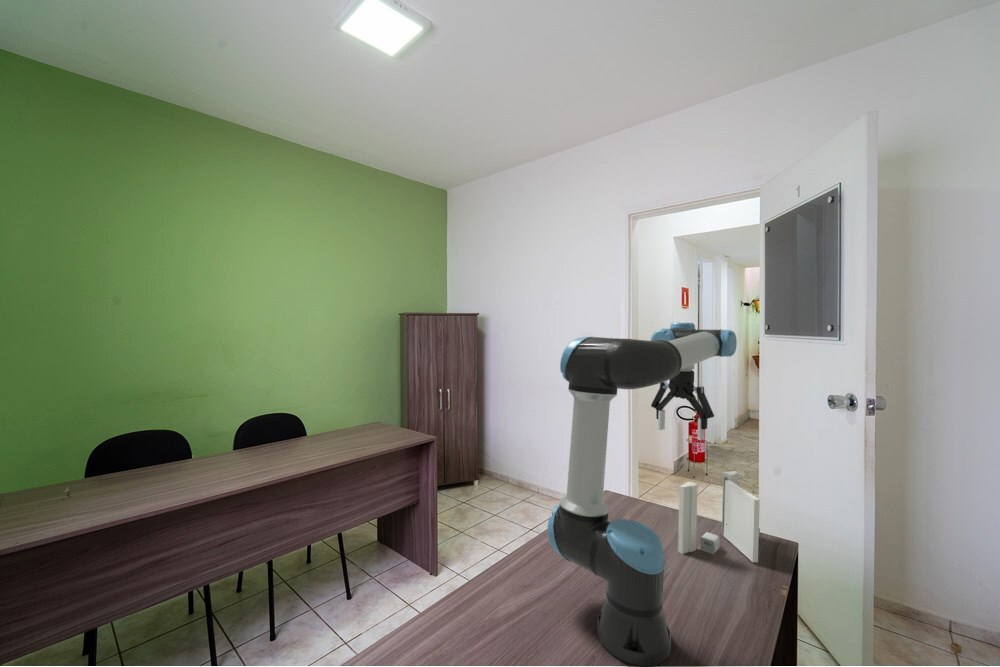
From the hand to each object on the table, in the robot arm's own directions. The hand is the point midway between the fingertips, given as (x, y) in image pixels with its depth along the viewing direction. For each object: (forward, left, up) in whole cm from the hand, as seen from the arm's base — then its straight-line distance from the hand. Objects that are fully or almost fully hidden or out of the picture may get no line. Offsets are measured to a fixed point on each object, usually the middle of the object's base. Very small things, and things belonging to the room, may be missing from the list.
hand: (680, 434), depth 132 cm
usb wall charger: (0, -12, -32) cm, 34 cm away
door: (+7, -17, -31) cm, 36 cm away
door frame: (+2, -9, -32) cm, 33 cm away
